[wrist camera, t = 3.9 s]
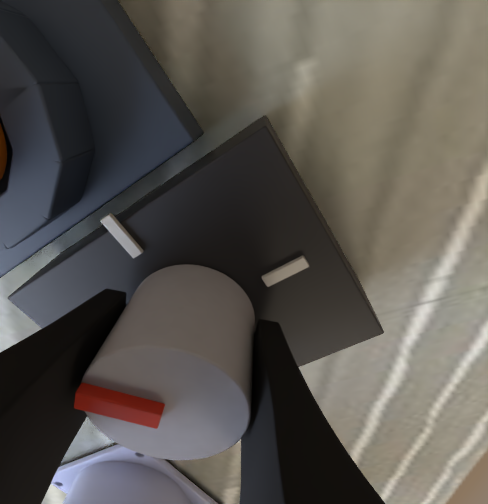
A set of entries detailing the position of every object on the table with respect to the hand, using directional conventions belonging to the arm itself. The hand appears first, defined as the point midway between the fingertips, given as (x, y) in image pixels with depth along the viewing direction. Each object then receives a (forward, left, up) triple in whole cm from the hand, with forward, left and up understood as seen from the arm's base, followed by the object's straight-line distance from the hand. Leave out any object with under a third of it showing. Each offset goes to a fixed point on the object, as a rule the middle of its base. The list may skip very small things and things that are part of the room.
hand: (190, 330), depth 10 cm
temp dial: (0, 0, -1) cm, 1 cm away
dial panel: (0, 0, -4) cm, 4 cm away
